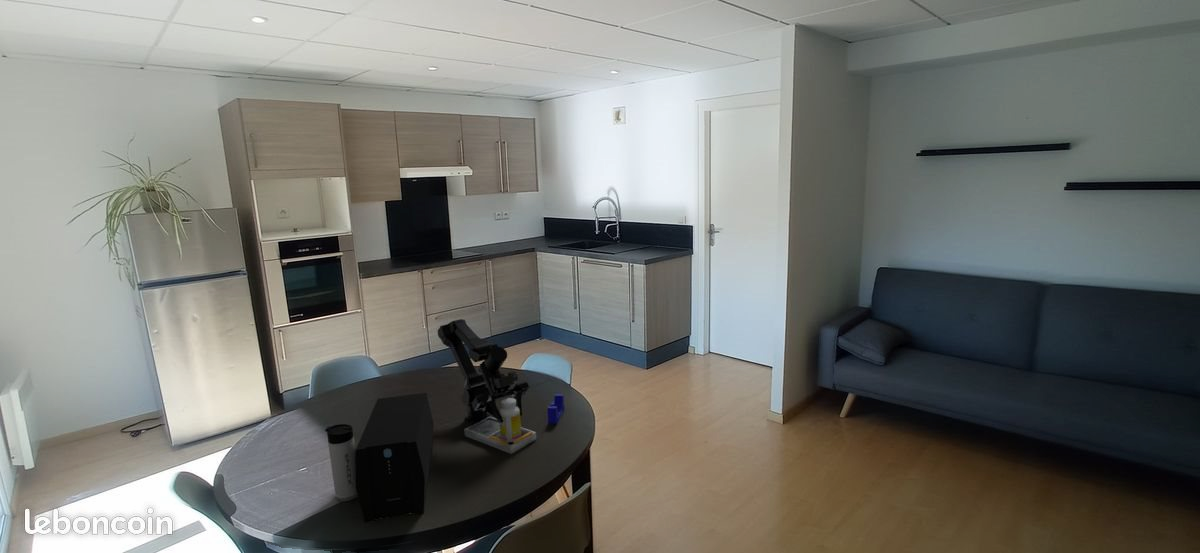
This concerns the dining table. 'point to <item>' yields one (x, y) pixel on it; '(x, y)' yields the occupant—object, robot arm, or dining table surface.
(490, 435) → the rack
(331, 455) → the travel mug
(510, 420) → the supplement bottle
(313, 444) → the dining table surface
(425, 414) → the uninterruptible power supply
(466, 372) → the robot arm
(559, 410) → the cable clip
